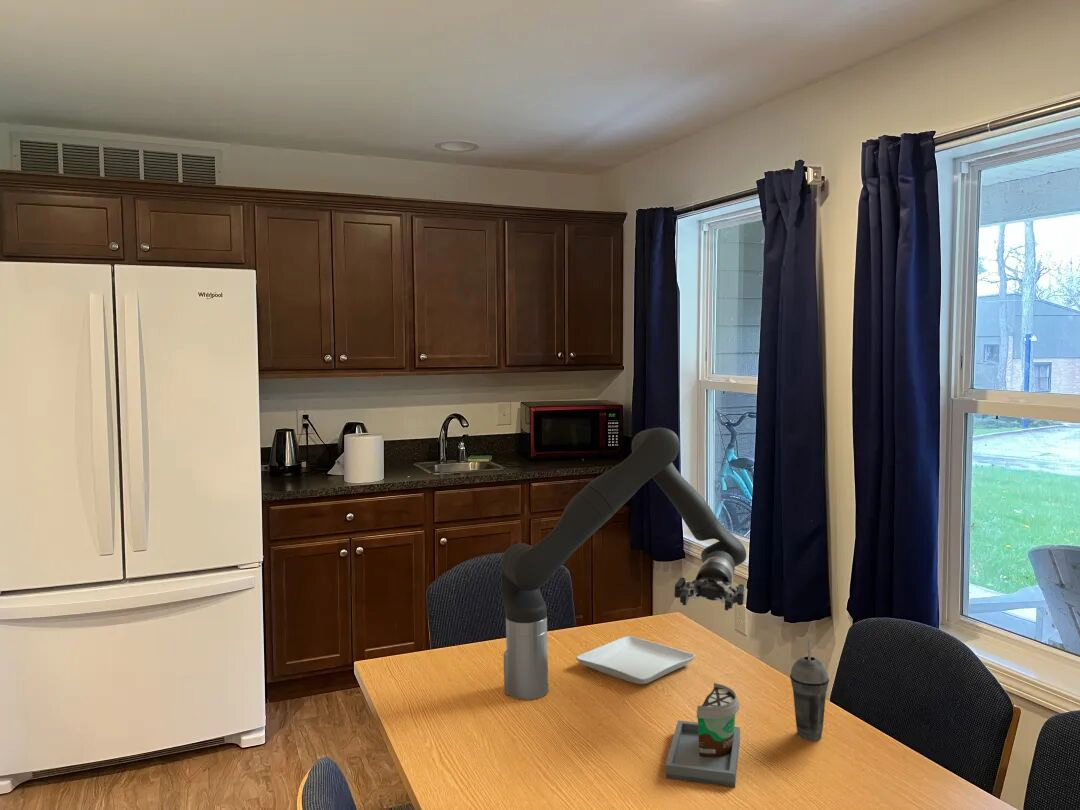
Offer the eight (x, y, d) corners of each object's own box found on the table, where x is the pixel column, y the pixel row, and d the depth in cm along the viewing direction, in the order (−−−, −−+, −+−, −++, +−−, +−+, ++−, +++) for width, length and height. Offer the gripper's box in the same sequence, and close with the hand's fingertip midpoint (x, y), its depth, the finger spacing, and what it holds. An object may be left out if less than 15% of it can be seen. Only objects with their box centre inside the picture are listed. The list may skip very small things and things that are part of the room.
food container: (730, 767, 143) (730, 713, 142) (697, 759, 146) (696, 706, 145) (746, 737, 154) (746, 687, 153) (715, 731, 157) (714, 681, 156)
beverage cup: (828, 729, 158) (828, 631, 157) (829, 746, 151) (829, 643, 150) (790, 724, 160) (790, 627, 159) (789, 741, 154) (789, 640, 152)
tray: (665, 778, 141) (665, 764, 141) (678, 732, 158) (677, 720, 158) (734, 787, 138) (734, 773, 138) (740, 739, 155) (740, 727, 155)
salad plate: (628, 646, 207) (628, 633, 207) (697, 667, 192) (697, 653, 192) (573, 670, 192) (573, 656, 192) (644, 694, 177) (644, 679, 177)
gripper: (683, 558, 179) (670, 581, 164) (748, 564, 174) (741, 589, 159) (682, 590, 180) (670, 616, 165) (747, 597, 175) (740, 625, 160)
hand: (705, 603), depth 162 cm, fingers open, 8 cm apart
